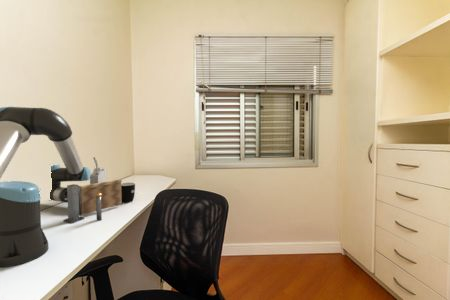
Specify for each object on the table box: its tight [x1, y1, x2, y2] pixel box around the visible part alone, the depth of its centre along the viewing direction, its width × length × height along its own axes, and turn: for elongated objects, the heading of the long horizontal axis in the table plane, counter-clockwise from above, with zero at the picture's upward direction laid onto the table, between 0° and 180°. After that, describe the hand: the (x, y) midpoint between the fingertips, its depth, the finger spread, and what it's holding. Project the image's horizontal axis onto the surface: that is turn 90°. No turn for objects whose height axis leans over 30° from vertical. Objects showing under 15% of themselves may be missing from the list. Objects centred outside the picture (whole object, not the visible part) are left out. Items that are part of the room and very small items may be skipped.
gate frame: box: [62, 183, 102, 224], centre depth 109 cm, size 8×14×16 cm, turn 71°
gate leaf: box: [78, 178, 123, 217], centre depth 121 cm, size 23×2×14 cm, turn 149°
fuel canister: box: [89, 156, 108, 185], centre depth 152 cm, size 15×5×25 cm, turn 5°
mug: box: [121, 182, 136, 204], centre depth 142 cm, size 12×9×10 cm
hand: (100, 198), depth 122 cm, fingers closed
